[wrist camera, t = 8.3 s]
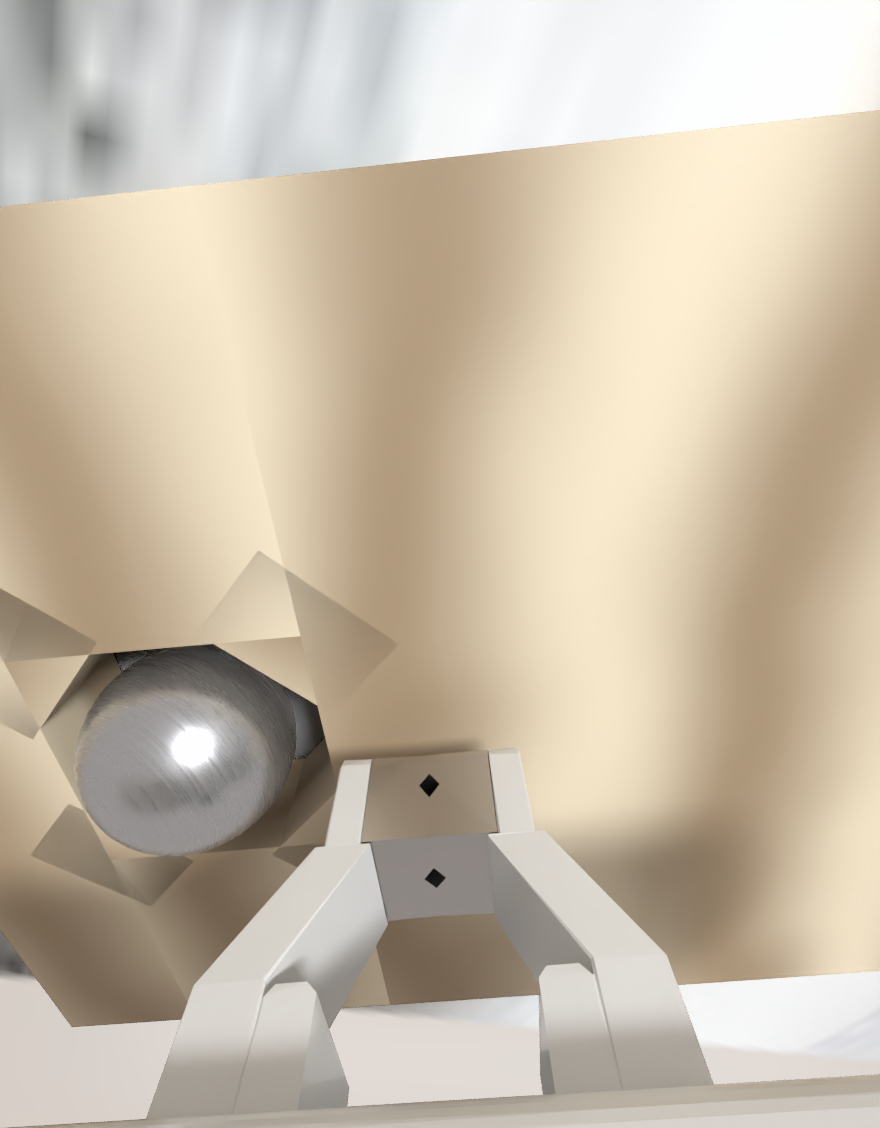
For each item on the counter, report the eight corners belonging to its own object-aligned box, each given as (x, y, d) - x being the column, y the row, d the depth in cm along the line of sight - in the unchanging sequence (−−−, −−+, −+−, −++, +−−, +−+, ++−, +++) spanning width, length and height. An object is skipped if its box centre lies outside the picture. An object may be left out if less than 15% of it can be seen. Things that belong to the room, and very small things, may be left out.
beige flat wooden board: (1372, 98, 8) (1730, 17, 6) (975, 866, 16) (1065, 958, 14) (-259, 273, 9) (-495, 261, 7) (120, 929, 17) (71, 1027, 14)
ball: (316, 628, 11) (134, 777, 7) (347, 772, 12) (212, 943, 9) (180, 594, 12) (-13, 704, 9) (225, 725, 14) (76, 854, 11)
